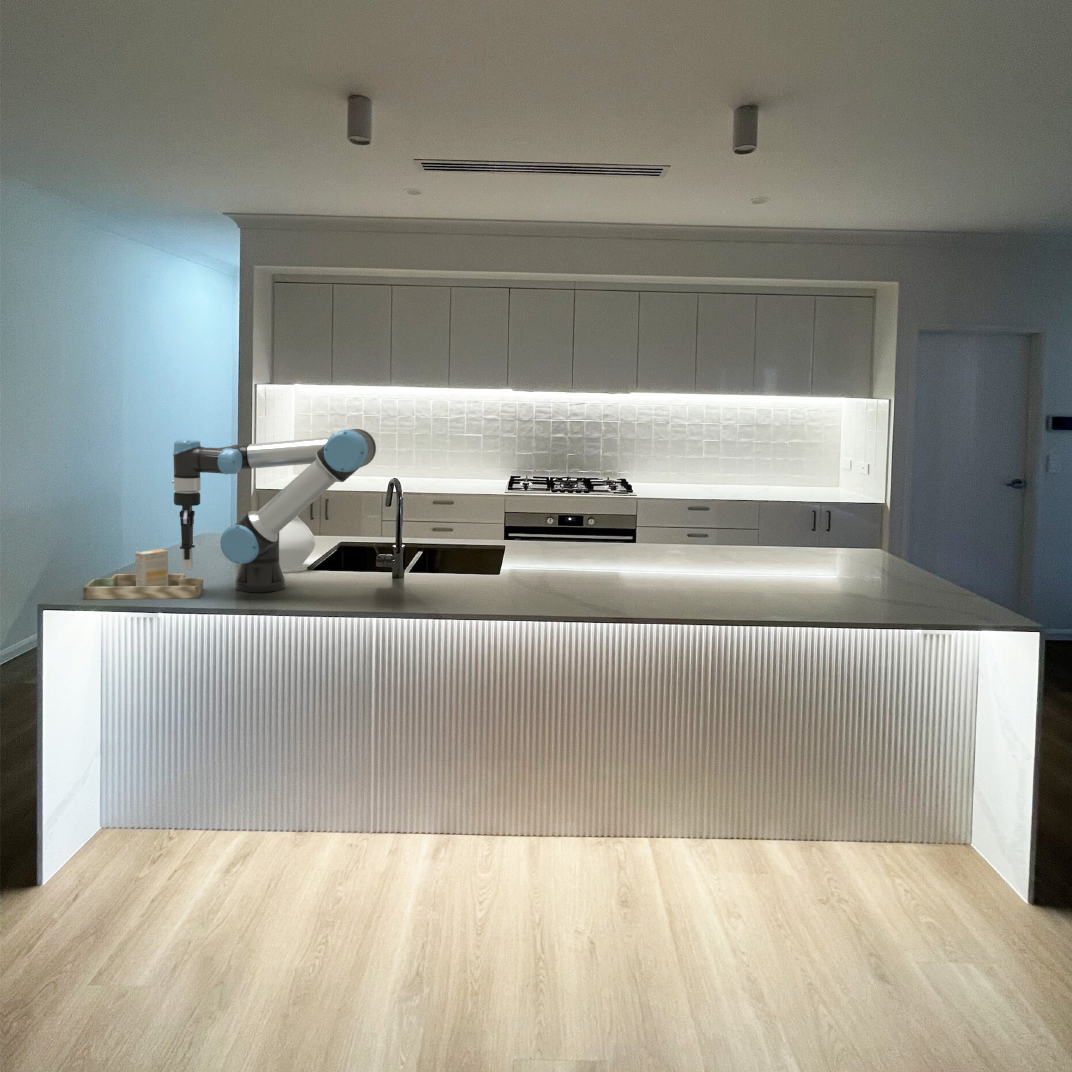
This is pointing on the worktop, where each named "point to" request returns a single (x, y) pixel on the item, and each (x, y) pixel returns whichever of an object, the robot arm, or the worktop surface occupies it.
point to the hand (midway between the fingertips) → (187, 569)
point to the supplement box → (151, 568)
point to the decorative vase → (295, 545)
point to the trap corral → (142, 588)
